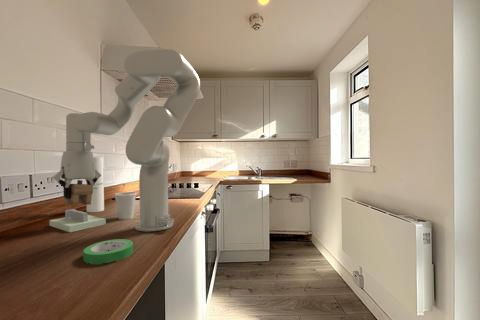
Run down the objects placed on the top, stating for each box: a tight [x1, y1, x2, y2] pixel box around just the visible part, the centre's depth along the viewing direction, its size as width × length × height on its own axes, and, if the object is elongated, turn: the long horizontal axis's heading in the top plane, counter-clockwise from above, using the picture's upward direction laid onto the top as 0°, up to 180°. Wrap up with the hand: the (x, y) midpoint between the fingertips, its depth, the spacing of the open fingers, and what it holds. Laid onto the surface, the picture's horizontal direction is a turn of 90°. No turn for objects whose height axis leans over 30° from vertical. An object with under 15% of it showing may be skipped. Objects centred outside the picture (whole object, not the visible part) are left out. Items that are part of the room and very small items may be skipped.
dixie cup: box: [113, 191, 137, 220], centre depth 105 cm, size 8×8×10 cm
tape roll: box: [82, 238, 134, 265], centre depth 64 cm, size 11×11×3 cm
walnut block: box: [63, 179, 93, 206], centre depth 93 cm, size 7×6×8 cm
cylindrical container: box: [85, 156, 105, 213], centre depth 120 cm, size 7×7×25 cm
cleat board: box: [49, 208, 107, 233], centre depth 94 cm, size 16×12×5 cm
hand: (78, 196), depth 93 cm, fingers closed on walnut block, 6 cm apart
